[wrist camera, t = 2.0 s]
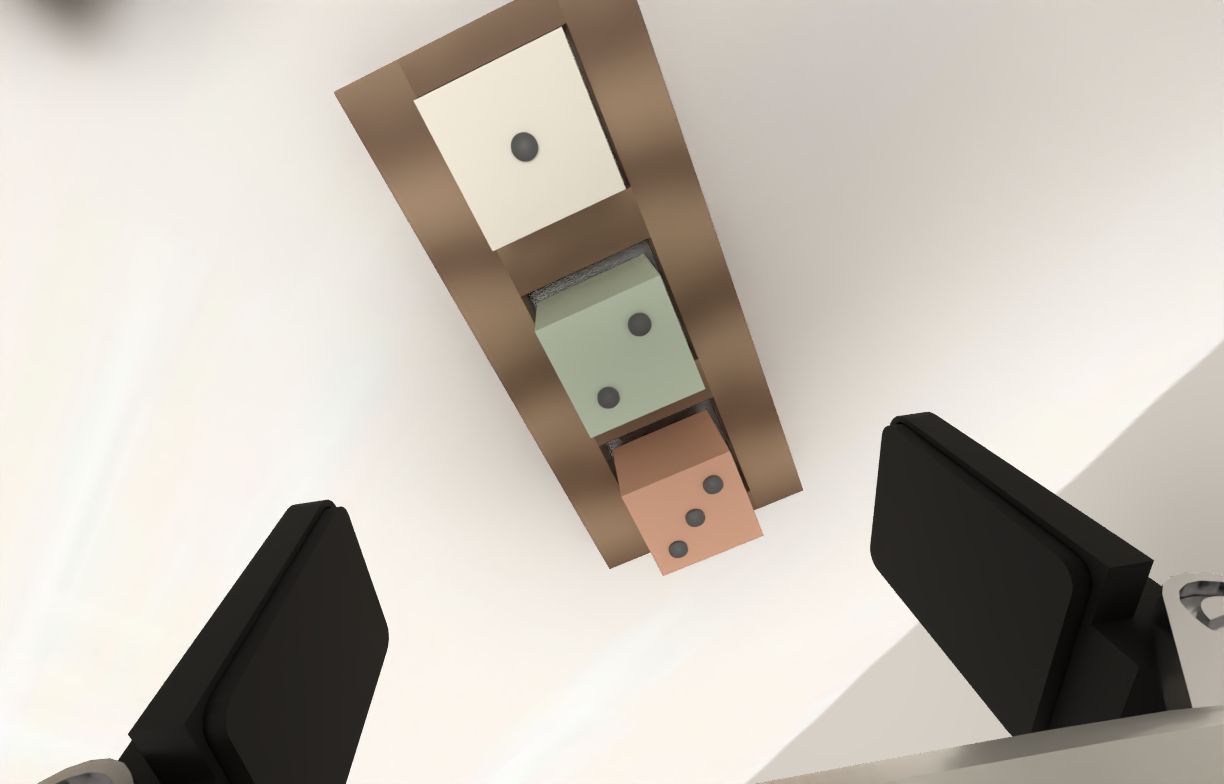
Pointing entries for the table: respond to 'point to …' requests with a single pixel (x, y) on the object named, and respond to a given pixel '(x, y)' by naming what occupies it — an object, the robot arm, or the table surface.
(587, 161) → the tile one pip
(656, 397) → the tile two pip
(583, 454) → the tray
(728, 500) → the tile three pip
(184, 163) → the table surface
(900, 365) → the table surface
